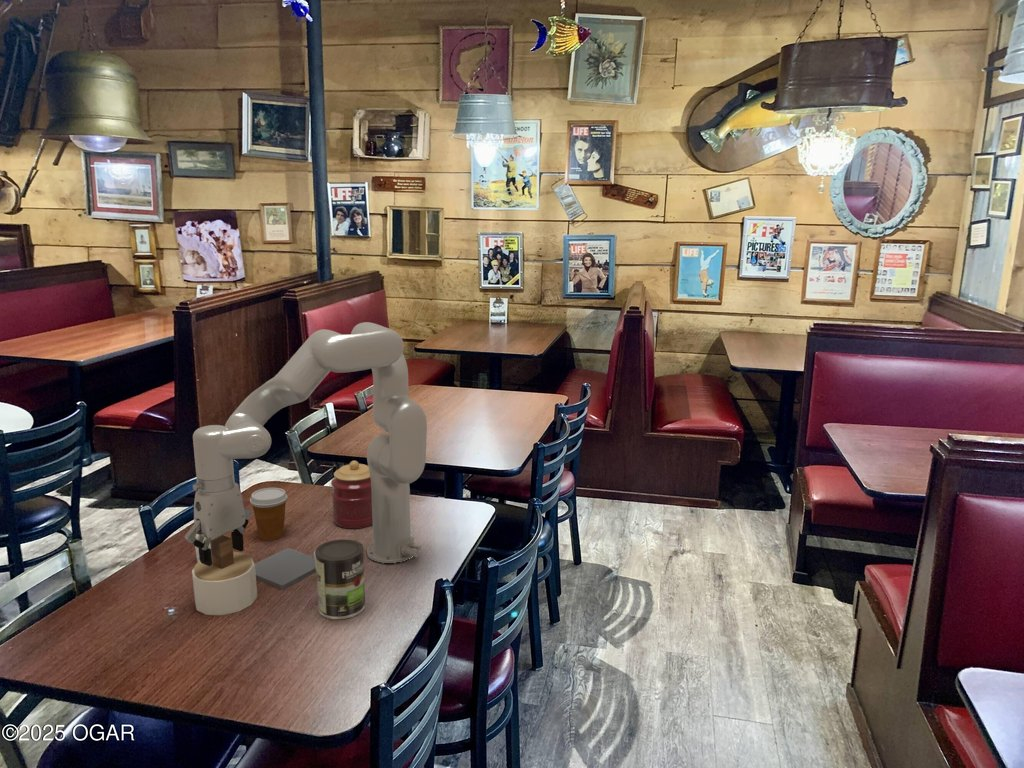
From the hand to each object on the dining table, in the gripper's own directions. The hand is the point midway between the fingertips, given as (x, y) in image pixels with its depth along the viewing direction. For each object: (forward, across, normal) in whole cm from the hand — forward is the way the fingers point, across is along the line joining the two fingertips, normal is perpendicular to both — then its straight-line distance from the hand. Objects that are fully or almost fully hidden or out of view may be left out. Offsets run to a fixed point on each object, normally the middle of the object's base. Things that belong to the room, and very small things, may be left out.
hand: (222, 556), depth 164 cm
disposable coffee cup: (+11, +28, +18) cm, 35 cm away
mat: (+11, +17, 0) cm, 20 cm away
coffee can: (+11, +12, -24) cm, 29 cm away
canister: (+11, +48, +6) cm, 50 cm away
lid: (+3, 0, 0) cm, 3 cm away
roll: (+11, +10, +20) cm, 25 cm away
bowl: (+11, 0, 0) cm, 11 cm away
